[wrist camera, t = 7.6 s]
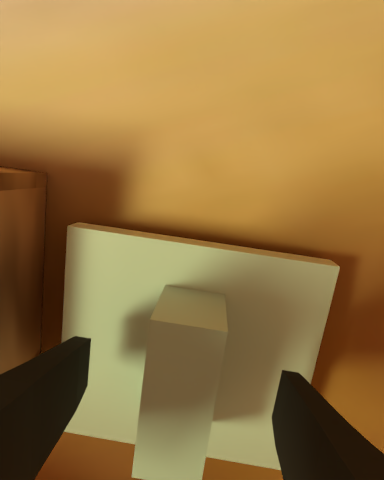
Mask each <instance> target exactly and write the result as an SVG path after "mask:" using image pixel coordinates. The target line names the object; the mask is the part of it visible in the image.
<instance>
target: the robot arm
mask: <svg viewBox="0 0 384 480" xmlns="http://www.w3.org/2000/svg"><path fill="white" fill-rule="evenodd" d="M90 347H91V338H85V337H79V336H74V337H72V338H70V339H68V340H66V341H64V342H62V343H61V344H59V345H57V346H55V347H53V348H52V349H50V350H48V351H46V352H44V353H42V354H40V355H39V356H37V357H35V358H33V359H31V360H29V361H27V362H25V363H23V364H21V365H19V366H17V367H15V368H13V369H11V370H8V371H6V372H4V373H2V374H0V480H34V479H35V477H36V476H37V474H38V472H39V471H40V469H41V467H42V466H43V464H44V463H45V461H46V459H47V458H48V456H49V454H50V453H51V451H52V450H53V448H54V446H55V445H56V443H57V442H58V440H59V438H60V437H61V435H62V433H63V432H64V430H65V429H66V427H67V425H68V424H69V422H70V420H71V419H72V417H73V415H74V414H75V412H76V410H77V408H78V406H79V404H80V402H81V399H82V397H83V395H84V393H85V390H86V388H87V386H88V373H89V360H90ZM272 425H273V434H274V441H275V447H276V451H277V455H278V459H279V463H280V467H281V471H282V475H283V479H284V480H384V454H383V453H382V452H381V451H380V450H378V449H377V448H376V447H375V446H374V445H372V444H371V443H370V442H369V441H368V440H367V439H365V438H364V437H363V436H362V435H361V434H360V433H359V432H358V431H357V430H356V429H355V428H353V427H352V426H351V425H350V424H349V423H348V422H347V421H346V420H345V419H344V418H343V417H342V416H341V415H340V414H339V413H338V412H337V411H336V410H335V409H334V408H333V407H332V406H331V405H330V404H329V403H328V402H327V401H326V400H325V399H324V398H323V397H322V396H321V395H320V394H319V393H318V391H317V390H316V389H315V388H314V387H313V386H312V385H311V384H310V383H309V382H308V381H307V380H306V379H305V378H304V377H303V376H302V375H301V374H300V373H298V372H292V371H286V370H282V373H281V377H280V382H279V386H278V391H277V395H276V400H275V404H274V408H273V413H272Z"/></svg>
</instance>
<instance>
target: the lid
mask: <svg viewBox="0 0 384 480" xmlns="http://www.w3.org/2000/svg"><path fill="white" fill-rule="evenodd" d="M339 269H340V266H338V265H337V264H336V263H334V262H333V261H331V260H329V259H322V258H315V257H309V256H302V255H295V254H289V253H282V252H275V251H269V250H262V249H255V248H249V247H242V246H235V245H228V244H222V243H215V242H208V241H202V240H195V239H188V238H182V237H175V236H168V235H162V234H155V233H148V232H141V231H135V230H128V229H121V228H115V227H108V226H101V225H95V224H88V223H81V222H77V223H74V224H71V225H69V226H67V244H66V263H65V283H64V303H63V323H62V342H64V341H66V340H68V339H70V338H72V337H74V336H79V337H85V338H91V347H90V360H89V373H88V386H87V388H86V390H85V393H84V395H83V397H82V399H81V402H80V404H79V406H78V408H77V410H76V412H75V414H74V415H73V417H72V419H71V420H70V422H69V424H68V425H67V427H66V429H65V430H64V432H68V433H74V434H79V435H85V436H91V437H96V438H102V439H108V440H113V441H119V442H124V443H130V444H135V452H134V460H133V469H132V477H133V478H139V479H144V480H202V476H203V470H204V464H205V459H206V457H209V458H215V459H220V460H226V461H232V462H237V463H243V464H249V465H254V466H260V467H266V468H271V469H277V470H281V467H280V463H279V459H278V455H277V451H276V447H275V441H274V434H273V425H272V413H273V408H274V404H275V400H276V395H277V391H278V386H279V382H280V377H281V373H282V370H286V371H292V372H298V373H300V374H301V375H302V376H303V377H304V378H305V379H306V380H307V381H308V382H309V383H310V384H311V380H312V376H313V372H314V368H315V364H316V360H317V356H318V353H319V349H320V345H321V341H322V337H323V333H324V329H325V325H326V321H327V317H328V313H329V309H330V305H331V301H332V297H333V293H334V289H335V285H336V281H337V277H338V273H339Z"/></svg>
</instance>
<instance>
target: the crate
mask: <svg viewBox="0 0 384 480" xmlns="http://www.w3.org/2000/svg"><path fill="white" fill-rule="evenodd" d="M46 187H47V173H43V172H36V171H29V170H22V169H15V168H8V167H1V166H0V374H2V373H4V372H6V371H8V370H11V369H13V368H15V367H17V366H19V365H21V364H23V363H25V362H27V361H29V360H31V359H33V358H35V357H37V356H39V355H40V352H41V325H42V297H43V270H44V242H45V215H46Z"/></svg>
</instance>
